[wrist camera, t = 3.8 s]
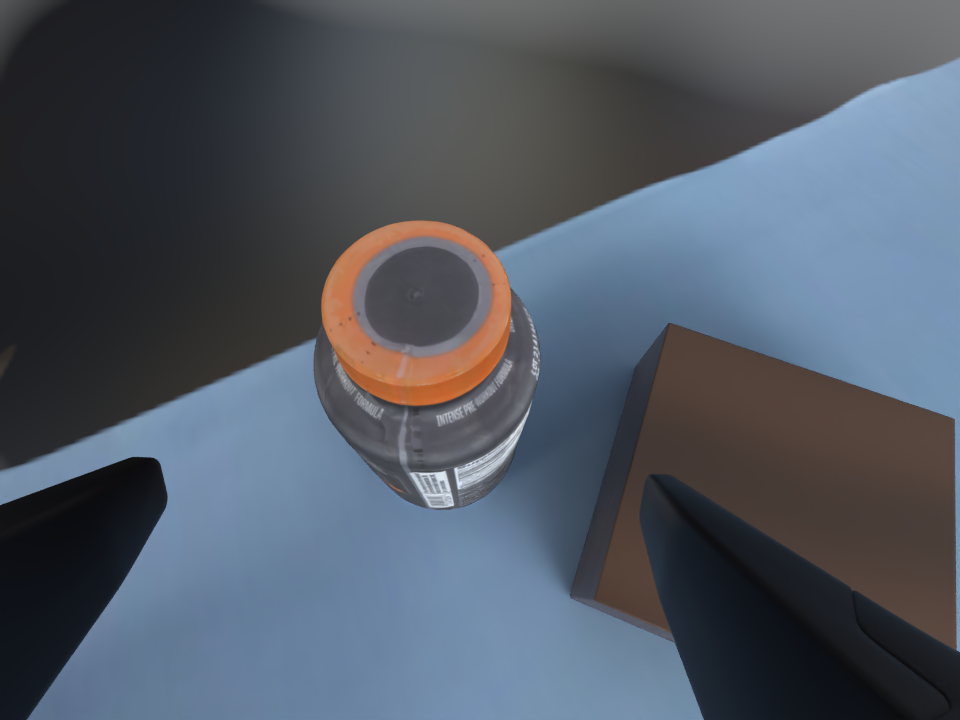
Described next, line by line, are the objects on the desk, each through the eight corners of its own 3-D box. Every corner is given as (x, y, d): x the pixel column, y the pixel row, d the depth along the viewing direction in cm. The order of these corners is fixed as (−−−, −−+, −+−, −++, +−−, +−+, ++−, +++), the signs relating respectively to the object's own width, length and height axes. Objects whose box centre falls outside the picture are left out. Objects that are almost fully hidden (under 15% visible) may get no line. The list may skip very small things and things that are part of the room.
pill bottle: (358, 392, 21) (252, 211, 11) (490, 356, 22) (507, 155, 12) (390, 533, 19) (292, 470, 9) (536, 486, 20) (607, 378, 9)
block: (852, 718, 17) (958, 756, 13) (568, 597, 18) (593, 600, 14) (869, 447, 21) (955, 418, 17) (636, 365, 22) (668, 321, 18)
